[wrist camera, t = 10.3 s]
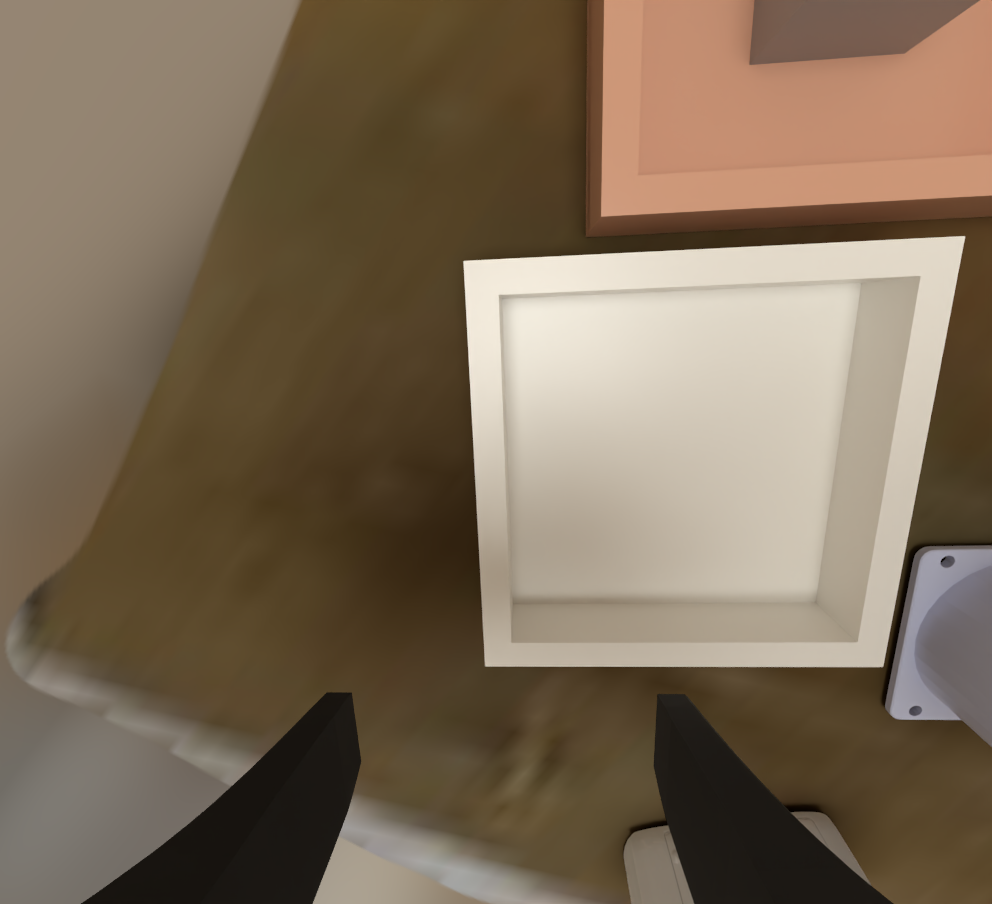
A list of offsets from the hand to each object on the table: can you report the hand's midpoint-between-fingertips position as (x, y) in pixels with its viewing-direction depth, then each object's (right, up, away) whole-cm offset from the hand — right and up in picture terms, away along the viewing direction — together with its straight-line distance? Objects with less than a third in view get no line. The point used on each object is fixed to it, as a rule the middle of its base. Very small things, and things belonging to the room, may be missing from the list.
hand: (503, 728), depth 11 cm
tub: (+6, +6, +8) cm, 12 cm away
